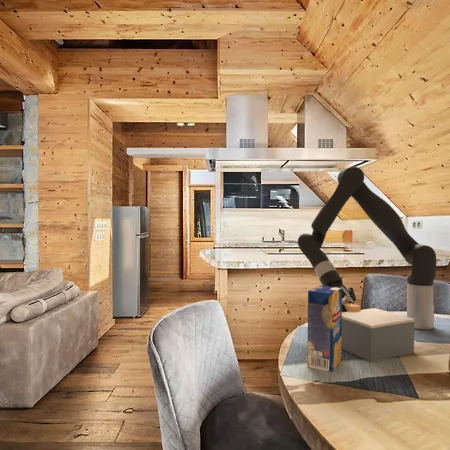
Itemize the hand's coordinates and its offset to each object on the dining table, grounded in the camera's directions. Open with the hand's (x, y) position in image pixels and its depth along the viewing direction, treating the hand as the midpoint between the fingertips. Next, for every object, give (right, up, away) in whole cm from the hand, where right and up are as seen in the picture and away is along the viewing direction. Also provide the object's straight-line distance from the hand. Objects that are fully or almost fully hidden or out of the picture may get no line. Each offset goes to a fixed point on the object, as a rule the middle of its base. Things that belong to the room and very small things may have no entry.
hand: (350, 313), depth 129 cm
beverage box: (-15, -10, -22) cm, 28 cm away
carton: (+4, -10, -9) cm, 14 cm away
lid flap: (+3, +1, -6) cm, 7 cm away
